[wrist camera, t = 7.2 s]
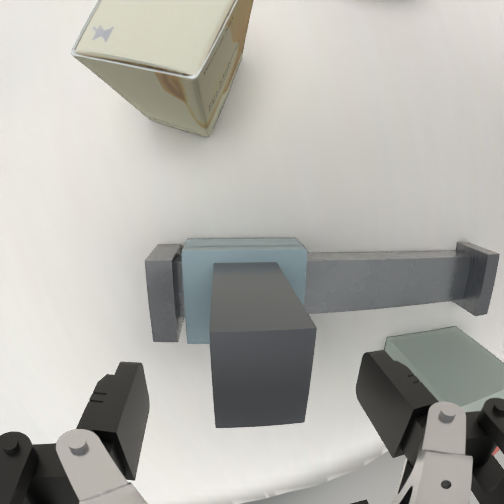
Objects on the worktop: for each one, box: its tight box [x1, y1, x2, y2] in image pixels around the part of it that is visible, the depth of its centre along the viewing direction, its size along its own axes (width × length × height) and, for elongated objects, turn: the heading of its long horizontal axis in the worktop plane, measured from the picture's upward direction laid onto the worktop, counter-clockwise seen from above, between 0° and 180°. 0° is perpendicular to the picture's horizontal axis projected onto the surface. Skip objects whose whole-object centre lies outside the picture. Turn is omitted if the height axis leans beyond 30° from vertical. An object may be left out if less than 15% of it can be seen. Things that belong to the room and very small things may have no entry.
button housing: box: [384, 326, 504, 458], centre depth 21 cm, size 8×7×10 cm
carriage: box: [182, 238, 316, 428], centre depth 16 cm, size 7×6×11 cm
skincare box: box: [71, 0, 253, 137], centre depth 12 cm, size 6×4×12 cm
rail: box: [145, 243, 499, 342], centre depth 21 cm, size 25×5×4 cm, turn 90°
